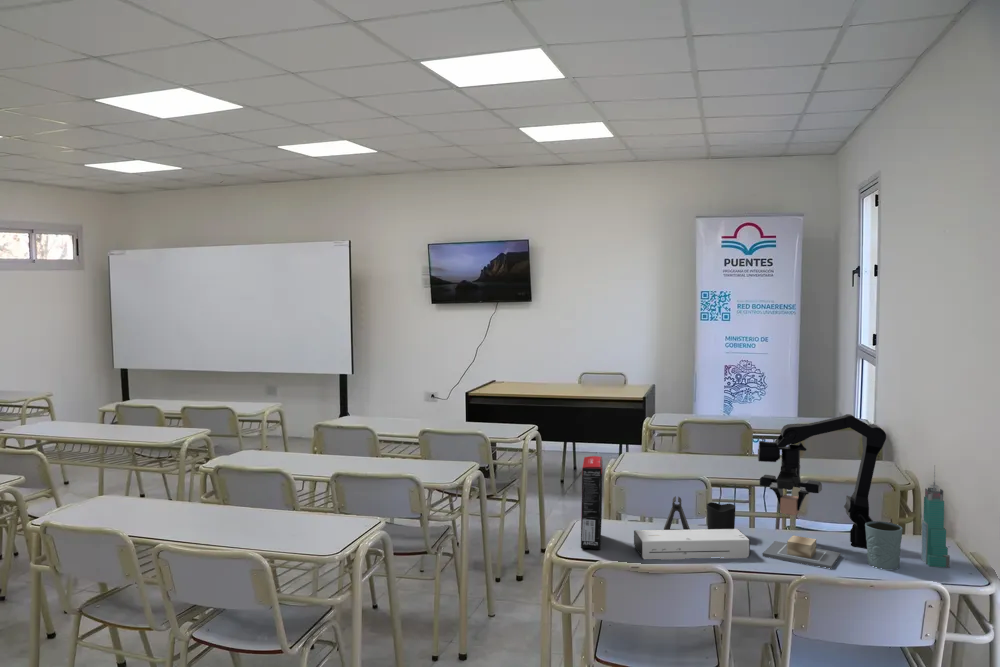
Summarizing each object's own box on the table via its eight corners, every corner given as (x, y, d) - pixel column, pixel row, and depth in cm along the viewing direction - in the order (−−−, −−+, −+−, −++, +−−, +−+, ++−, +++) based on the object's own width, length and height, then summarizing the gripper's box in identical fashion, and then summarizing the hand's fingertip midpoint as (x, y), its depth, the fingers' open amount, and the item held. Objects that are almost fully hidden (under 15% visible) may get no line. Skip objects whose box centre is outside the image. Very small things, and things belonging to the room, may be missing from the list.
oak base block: (816, 551, 232) (816, 539, 232) (810, 558, 226) (811, 545, 226) (792, 547, 236) (793, 535, 236) (787, 553, 230) (787, 541, 230)
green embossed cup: (873, 570, 218) (874, 530, 218) (858, 558, 229) (859, 520, 228) (908, 570, 218) (909, 530, 218) (891, 558, 228) (892, 520, 228)
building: (943, 560, 226) (945, 463, 225) (950, 567, 220) (952, 468, 219) (921, 559, 228) (923, 463, 226) (928, 566, 222) (930, 467, 220)
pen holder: (719, 528, 260) (720, 500, 259) (741, 535, 251) (741, 506, 251) (700, 533, 255) (700, 504, 254) (721, 540, 247) (722, 511, 246)
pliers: (690, 531, 257) (690, 497, 256) (690, 536, 251) (690, 501, 250) (663, 529, 259) (663, 495, 258) (663, 534, 253) (663, 500, 253)
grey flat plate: (840, 555, 231) (840, 552, 231) (831, 569, 220) (831, 565, 220) (774, 543, 243) (774, 540, 243) (762, 556, 231) (762, 552, 231)
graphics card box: (582, 533, 255) (582, 455, 254) (602, 534, 254) (602, 455, 253) (580, 550, 238) (580, 466, 237) (602, 551, 237) (602, 467, 236)
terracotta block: (799, 511, 247) (799, 497, 247) (795, 515, 243) (796, 500, 243) (784, 509, 250) (784, 494, 249) (780, 512, 246) (780, 498, 245)
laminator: (641, 561, 229) (641, 541, 229) (633, 547, 241) (633, 529, 241) (749, 559, 230) (750, 539, 230) (736, 546, 242) (736, 527, 242)
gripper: (754, 463, 244) (754, 510, 245) (814, 471, 233) (814, 519, 234) (764, 457, 253) (764, 502, 254) (822, 464, 243) (821, 511, 243)
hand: (790, 509), depth 246 cm, fingers closed on terracotta block, 5 cm apart
